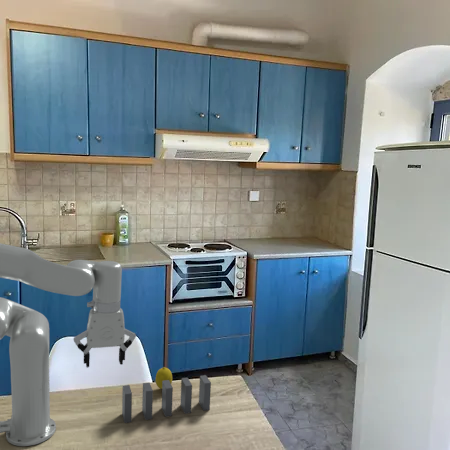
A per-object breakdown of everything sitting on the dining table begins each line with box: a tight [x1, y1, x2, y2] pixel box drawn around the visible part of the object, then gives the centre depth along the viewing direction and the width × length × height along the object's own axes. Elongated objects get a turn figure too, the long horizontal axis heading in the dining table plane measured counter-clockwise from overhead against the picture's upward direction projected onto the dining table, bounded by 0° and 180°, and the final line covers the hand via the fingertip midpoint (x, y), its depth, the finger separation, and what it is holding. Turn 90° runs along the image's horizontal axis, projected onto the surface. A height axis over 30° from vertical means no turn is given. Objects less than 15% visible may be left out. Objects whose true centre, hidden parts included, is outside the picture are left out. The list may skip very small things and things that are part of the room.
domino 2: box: [141, 382, 154, 421], centre depth 136 cm, size 2×5×9 cm, turn 20°
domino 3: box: [161, 380, 174, 418], centre depth 138 cm, size 2×5×9 cm, turn 20°
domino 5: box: [198, 374, 212, 412], centre depth 142 cm, size 2×5×9 cm, turn 21°
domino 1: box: [121, 384, 133, 424], centre depth 134 cm, size 2×5×9 cm, turn 20°
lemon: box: [155, 366, 173, 390], centre depth 151 cm, size 6×6×8 cm
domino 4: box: [180, 377, 193, 415], centre depth 140 cm, size 2×5×9 cm, turn 20°
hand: (104, 363), depth 130 cm, fingers open, 8 cm apart
